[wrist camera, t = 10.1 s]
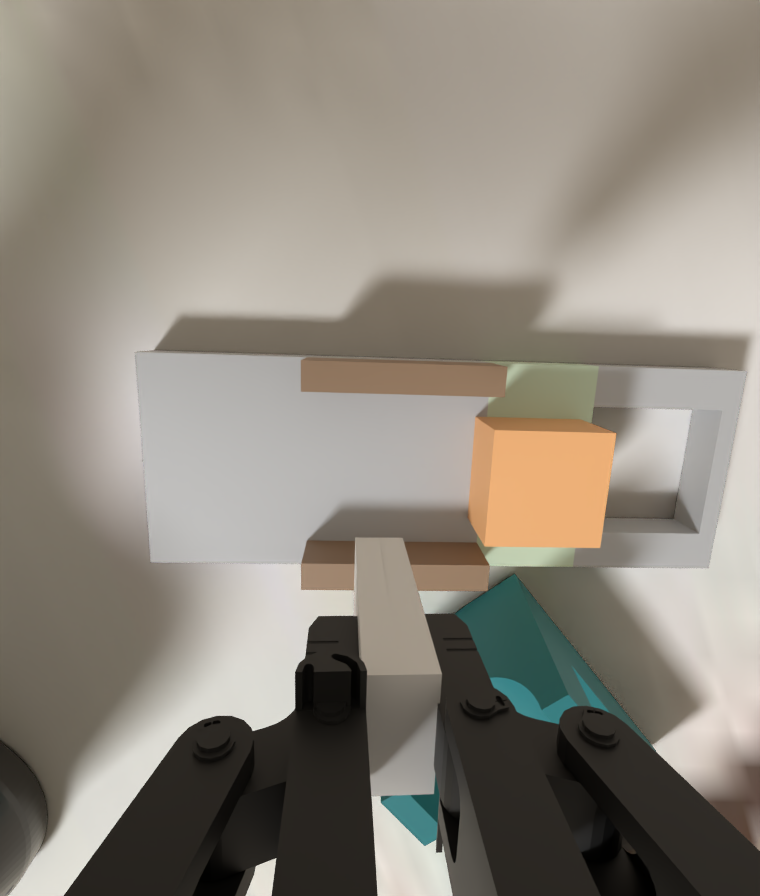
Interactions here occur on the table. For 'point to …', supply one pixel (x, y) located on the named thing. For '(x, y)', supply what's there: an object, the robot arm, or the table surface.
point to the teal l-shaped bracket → (517, 678)
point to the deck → (394, 459)
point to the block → (539, 482)
